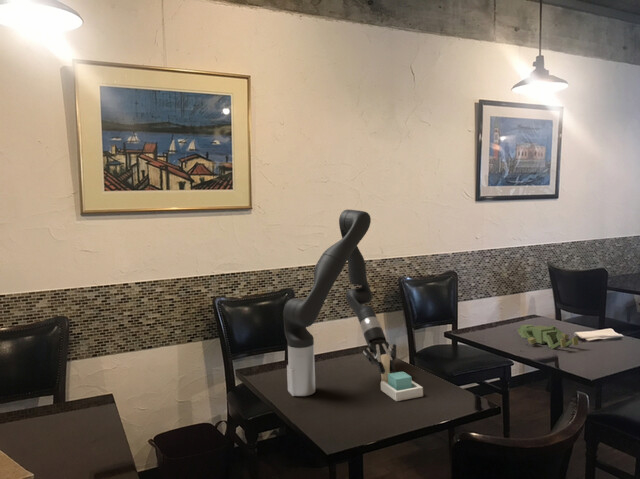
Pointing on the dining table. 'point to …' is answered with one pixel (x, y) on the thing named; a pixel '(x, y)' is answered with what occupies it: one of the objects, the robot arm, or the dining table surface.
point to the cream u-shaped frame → (402, 391)
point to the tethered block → (395, 376)
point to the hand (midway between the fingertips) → (388, 371)
